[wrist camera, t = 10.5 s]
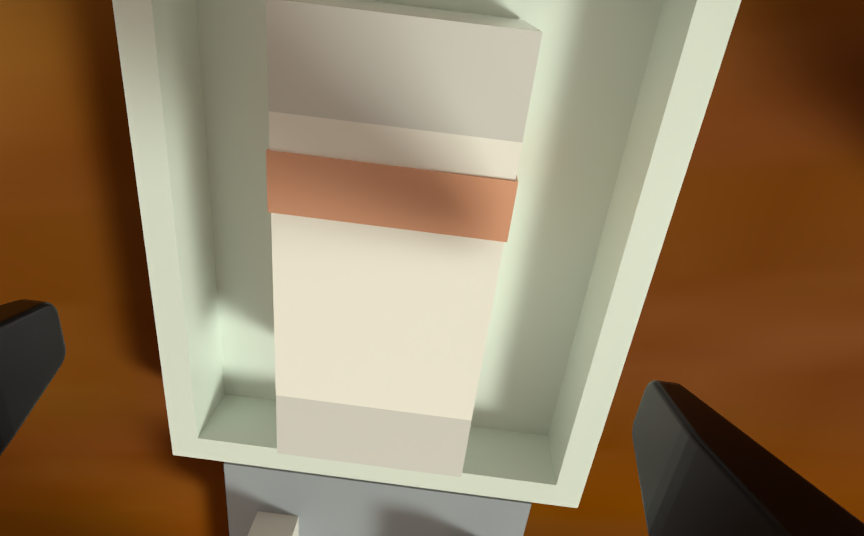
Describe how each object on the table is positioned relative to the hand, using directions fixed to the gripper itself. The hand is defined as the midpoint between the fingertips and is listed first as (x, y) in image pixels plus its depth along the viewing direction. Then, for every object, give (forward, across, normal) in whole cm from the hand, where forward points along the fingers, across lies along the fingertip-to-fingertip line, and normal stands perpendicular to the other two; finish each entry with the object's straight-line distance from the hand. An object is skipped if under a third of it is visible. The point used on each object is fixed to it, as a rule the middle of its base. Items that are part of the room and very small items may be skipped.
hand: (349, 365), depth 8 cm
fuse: (+7, 0, 0) cm, 7 cm away
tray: (+8, 0, 0) cm, 8 cm away
